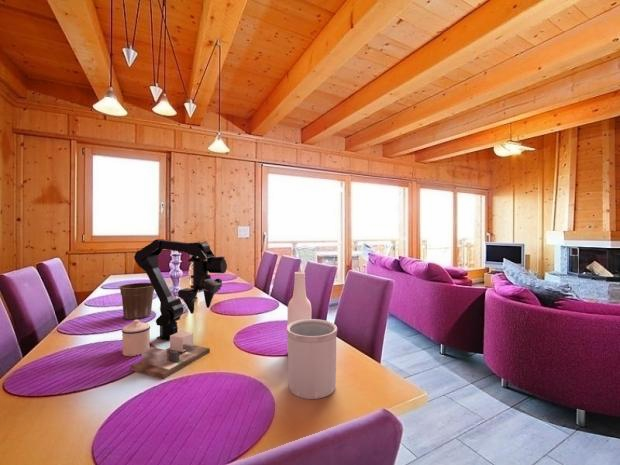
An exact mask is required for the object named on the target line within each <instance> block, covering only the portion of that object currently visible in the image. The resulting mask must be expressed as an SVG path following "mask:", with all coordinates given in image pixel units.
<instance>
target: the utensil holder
mask: <svg viewBox="0 0 620 465" xmlns="http://www.w3.org/2000/svg"><path fill="white" fill-rule="evenodd" d="M286 335H288V352H287V370H288V371H287V372H288V374H287V375H288V388H289V391H290V392H291V393H292V394H293V395H295V396H296V397H299V398H302V399H306V400H317V399H323V398H325V397H328V396H330V395H331V394H333V392H334V391H335V389H336V382H337V381H336V380H337V379H336V377H337V376H336V375H337V335H338V327H337V325H336V324H335V323H333V322H331V321H328V320H324V319H319V318H318V319H315V318H311V319H305V320H298V321H295V322H292V323H290V324H289V325H288V326H286Z"/></svg>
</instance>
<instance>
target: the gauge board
mask: <svg viewBox="0 0 620 465" xmlns="http://www.w3.org/2000/svg"><path fill="white" fill-rule="evenodd" d="M193 345H194V350H193V351H189V350H186V351H184V352H180V351H179V361H178V362H172V361H169V352H170V351H172V350H171V349H170V347H169V348H166V349H162V348H158V347H154V346H150V348H148V349H145V350H143V351H142V354H141V361H139V362H136V363H134V364H132V365H131V366H130V370H131V371H132V372H135V373H139V374H144V375H147V376H151V377H155V378H159V379H163V380H164V379H166V378H168V377H170V376H171V375H173V374H175V373H177V372H178V371H181V370H182V369H183V368H185V367H187V366H189V365H190V364H191V365H192V363H194V362H196V361H198V360H199V359H201V358H202V357H204V356H206V355H208V354H210V352H211V349H210V348H211V347H210V348H209V347H205V346H199V345H195V344H193ZM174 351H176V350H174Z"/></svg>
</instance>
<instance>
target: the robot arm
mask: <svg viewBox="0 0 620 465" xmlns="http://www.w3.org/2000/svg"><path fill="white" fill-rule="evenodd" d="M163 250H168V251H173V252H174V251H175V252H181V253H186V254H187V255H189V256H190V258H189V259H188V260H187V262H189V263H191V262H192V274H191V275H190V279H192V285H191V284H190V288H188V287H186V288H181V289H179V290H178V291H177V298H175V297H174V296H173V295H172V292H171V291H170V289H169V286H168V284H167V282H166V280H165V278H164V276H163V274H162V272H161V270H160V268H159V262H160V261H159V257H158V256H160V255H161V254H162V253H163ZM133 258H134V259H133V260H134V262H135V263H136V264H137V265H138V267H139V268H141V269H142V270H143V271H144V272H145V273H146V275H147V276H148V279H149V282H150V283H152V286H153V288H154V292H155V293H156V295H157V297H158V300H159V302H160V303H159V304H160V306H159V311H160V315H159V316H158V318H156V319H155V324H156V326H159V335H158V336H157V337H156V340H162V341H163V340H164V341H170V335H173V334H175V333H177V332H179V331H178V330H179V328H178V322H177V321H179V320H180V319H181V317H182V316H183V314H184V312H185V311H184V306H185V305H186V307H187V309H188V311H189V313H190V314H191V315H193V314H194V313H195V301H196V300H197V299H198V297H197V295H198V293H202V292H203V296H204V301H205V306H206V308H207V309H209V308H210V307H211V304H212V301H213V298H214V296H215V295H216V294H217V293H218V292H219V290H221V288H222V287H223V285H222V284H223V281H222V280H223V279H221V278H220V277H218V278H215V279H212V277H211V274H225V273H226V271H227V269H228V264H227V261H226V259H225V256H216V255H215V253H214V252H213V250H212V249H211V246H210V244H209V243H208V242H207V241H199V242H186V241H177V240H171V239H169V240H168V239H164V238H157V239H154V240H153V241H152V242H151V243H149V244H147V245H146V246H144V247H142V248H141V249H139V250H137V251H136V252H135V253H134V256H133ZM209 273H210V274H209ZM181 300H182V301H183V302H184V303H185V305H183V303H182V301H181Z"/></svg>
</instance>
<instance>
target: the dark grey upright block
mask: <svg viewBox="0 0 620 465" xmlns="http://www.w3.org/2000/svg"><path fill="white" fill-rule="evenodd" d="M169 361H172V362H178V361H179V351H174V350H172V351H170V352H169Z"/></svg>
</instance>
